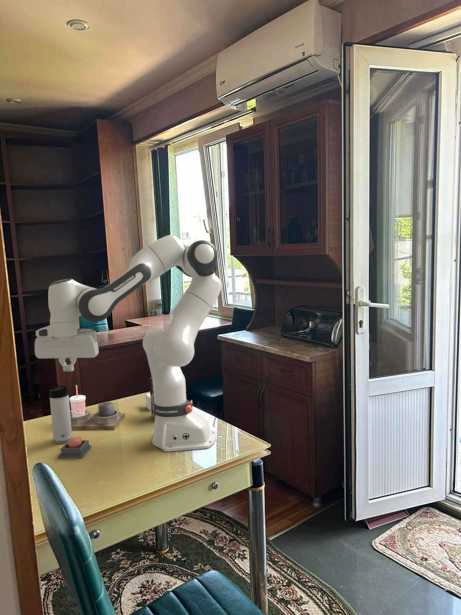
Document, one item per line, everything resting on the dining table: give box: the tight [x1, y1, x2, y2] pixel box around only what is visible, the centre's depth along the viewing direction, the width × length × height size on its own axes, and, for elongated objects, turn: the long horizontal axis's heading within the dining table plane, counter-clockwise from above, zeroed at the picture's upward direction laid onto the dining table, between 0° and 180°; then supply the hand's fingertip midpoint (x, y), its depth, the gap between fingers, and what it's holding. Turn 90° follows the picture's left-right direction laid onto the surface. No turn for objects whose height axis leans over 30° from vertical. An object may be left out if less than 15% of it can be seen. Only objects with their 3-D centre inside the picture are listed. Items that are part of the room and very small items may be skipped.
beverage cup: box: [69, 384, 87, 417], centre depth 182 cm, size 6×6×14 cm
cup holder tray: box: [70, 401, 126, 431], centre depth 182 cm, size 22×13×8 cm, turn 86°
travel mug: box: [49, 385, 73, 445], centre depth 166 cm, size 6×7×20 cm
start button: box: [68, 436, 83, 448], centre depth 156 cm, size 4×4×2 cm
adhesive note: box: [145, 392, 151, 412], centre depth 198 cm, size 6×6×6 cm
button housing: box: [58, 439, 92, 459], centre depth 157 cm, size 8×8×3 cm
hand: (68, 370), depth 153 cm, fingers closed
